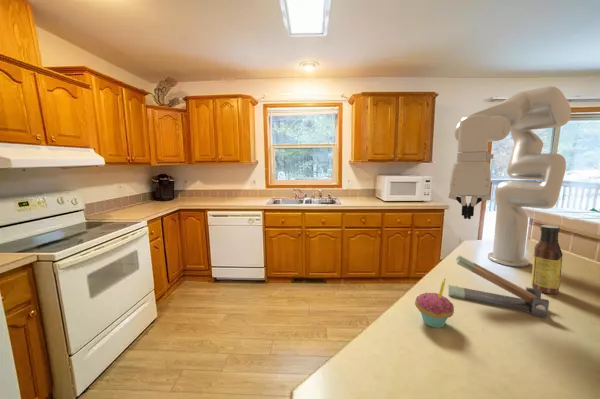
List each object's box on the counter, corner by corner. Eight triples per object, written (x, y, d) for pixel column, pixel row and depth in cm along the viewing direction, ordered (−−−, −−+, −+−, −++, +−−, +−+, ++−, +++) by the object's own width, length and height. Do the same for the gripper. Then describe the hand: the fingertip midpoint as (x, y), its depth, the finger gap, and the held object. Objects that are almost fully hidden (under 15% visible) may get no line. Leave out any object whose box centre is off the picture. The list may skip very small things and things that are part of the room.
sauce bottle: (564, 295, 74) (573, 229, 71) (539, 294, 75) (547, 229, 72) (547, 285, 80) (555, 224, 77) (525, 283, 82) (531, 223, 79)
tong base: (448, 286, 81) (449, 273, 80) (537, 303, 70) (539, 288, 70) (448, 298, 74) (449, 284, 73) (547, 319, 63) (550, 302, 63)
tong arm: (456, 258, 77) (459, 255, 76) (532, 299, 69) (535, 295, 69) (456, 263, 73) (459, 259, 73) (536, 306, 66) (540, 302, 65)
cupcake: (448, 315, 66) (451, 271, 64) (456, 336, 58) (460, 287, 57) (412, 309, 69) (414, 268, 67) (416, 329, 61) (418, 282, 59)
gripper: (500, 157, 76) (495, 217, 78) (443, 159, 83) (439, 214, 86) (505, 157, 69) (499, 223, 72) (442, 159, 77) (439, 218, 79)
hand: (467, 218), depth 79 cm, fingers closed
